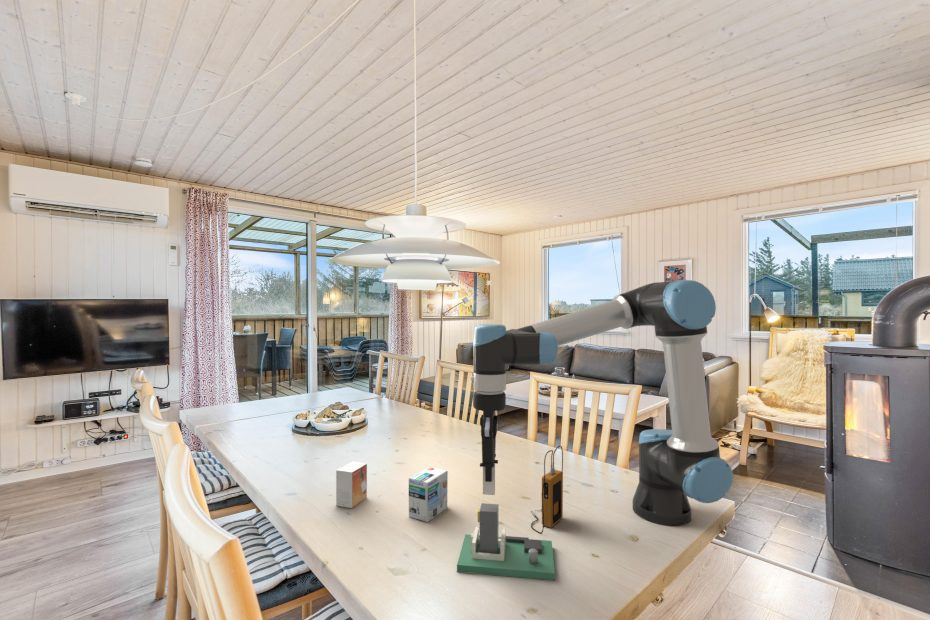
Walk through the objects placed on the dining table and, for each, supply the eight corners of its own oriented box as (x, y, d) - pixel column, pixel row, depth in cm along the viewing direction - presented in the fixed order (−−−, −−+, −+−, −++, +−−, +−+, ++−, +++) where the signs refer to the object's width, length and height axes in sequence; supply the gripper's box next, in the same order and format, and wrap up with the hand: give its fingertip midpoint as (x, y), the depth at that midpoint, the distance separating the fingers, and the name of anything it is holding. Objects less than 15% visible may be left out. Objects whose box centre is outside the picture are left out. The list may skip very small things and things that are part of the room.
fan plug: (498, 546, 102) (498, 504, 102) (497, 556, 98) (497, 512, 98) (478, 545, 103) (479, 503, 103) (477, 554, 99) (477, 510, 99)
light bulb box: (427, 523, 117) (427, 482, 117) (407, 517, 120) (407, 478, 120) (448, 507, 126) (448, 470, 126) (429, 502, 130) (429, 465, 130)
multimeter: (537, 503, 128) (537, 436, 128) (568, 513, 122) (568, 442, 122) (510, 523, 117) (510, 448, 117) (544, 535, 111) (544, 456, 111)
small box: (351, 509, 125) (351, 472, 125) (335, 506, 127) (335, 469, 127) (367, 497, 132) (367, 463, 132) (351, 495, 134) (351, 460, 134)
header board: (551, 547, 105) (551, 526, 105) (554, 580, 92) (554, 556, 92) (465, 540, 108) (465, 520, 108) (456, 571, 95) (456, 548, 95)
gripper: (476, 385, 108) (476, 481, 108) (469, 396, 95) (469, 504, 95) (507, 386, 107) (506, 483, 107) (504, 397, 94) (503, 507, 94)
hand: (488, 493), depth 101 cm, fingers closed
